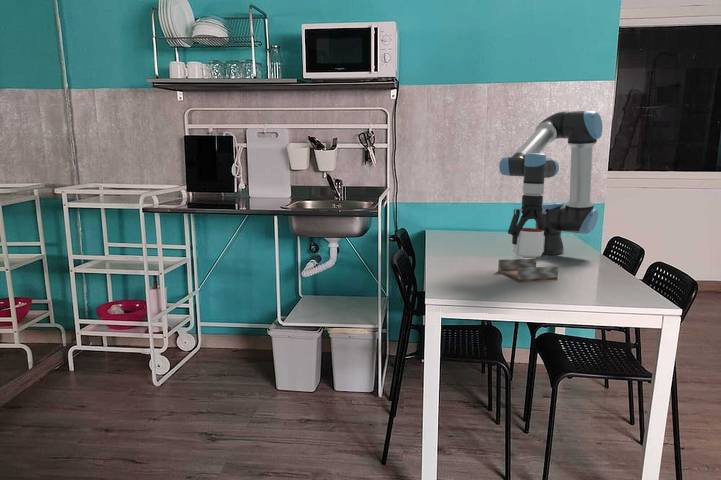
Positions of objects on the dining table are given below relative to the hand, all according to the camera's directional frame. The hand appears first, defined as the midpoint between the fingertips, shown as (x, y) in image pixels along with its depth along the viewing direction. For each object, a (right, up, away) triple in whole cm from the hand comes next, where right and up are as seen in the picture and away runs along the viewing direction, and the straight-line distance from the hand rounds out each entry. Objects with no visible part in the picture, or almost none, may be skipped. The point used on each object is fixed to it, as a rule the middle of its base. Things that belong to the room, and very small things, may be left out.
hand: (528, 252), depth 207 cm
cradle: (0, -9, +2) cm, 9 cm away
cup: (0, -1, 0) cm, 2 cm away
